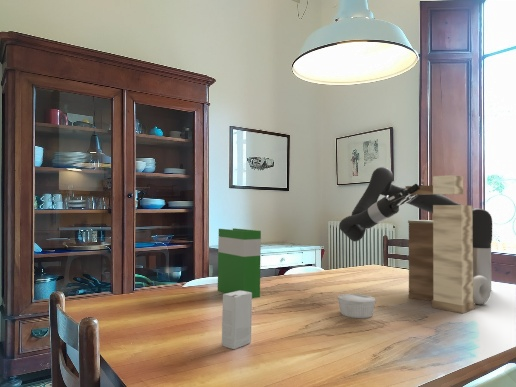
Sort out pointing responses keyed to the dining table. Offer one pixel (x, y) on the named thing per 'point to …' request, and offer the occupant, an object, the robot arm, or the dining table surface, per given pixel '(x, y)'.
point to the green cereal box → (239, 261)
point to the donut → (480, 289)
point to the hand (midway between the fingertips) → (420, 186)
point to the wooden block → (453, 258)
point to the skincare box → (236, 319)
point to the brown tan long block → (442, 186)
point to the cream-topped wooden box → (421, 259)
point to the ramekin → (356, 305)
